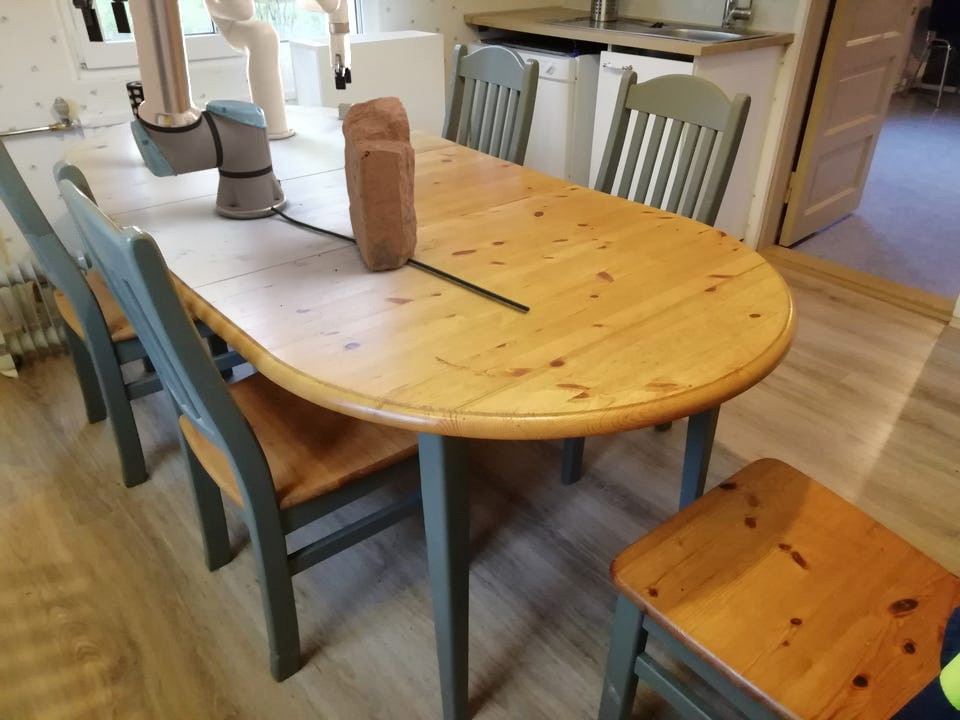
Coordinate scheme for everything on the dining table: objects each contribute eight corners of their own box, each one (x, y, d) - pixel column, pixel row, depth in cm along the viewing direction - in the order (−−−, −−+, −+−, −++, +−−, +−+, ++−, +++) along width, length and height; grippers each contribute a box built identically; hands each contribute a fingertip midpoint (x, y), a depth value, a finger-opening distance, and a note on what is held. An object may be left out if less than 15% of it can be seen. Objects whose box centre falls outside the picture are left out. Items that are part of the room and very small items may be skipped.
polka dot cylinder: (184, 157, 190) (167, 80, 179) (169, 166, 183) (151, 87, 172) (155, 156, 190) (136, 79, 179) (139, 165, 183) (119, 86, 172)
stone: (428, 267, 131) (421, 113, 117) (369, 275, 128) (354, 118, 114) (402, 230, 149) (394, 92, 134) (350, 236, 146) (336, 96, 131)
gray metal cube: (341, 116, 231) (340, 103, 229) (354, 117, 231) (353, 103, 229) (339, 119, 228) (338, 106, 225) (352, 120, 228) (351, 106, 225)
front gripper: (94, -73, 157) (120, 29, 168) (32, -72, 136) (66, 45, 147) (127, -73, 157) (150, 30, 168) (70, -72, 136) (101, 45, 147)
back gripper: (332, 24, 222) (337, 80, 231) (320, 32, 207) (327, 91, 217) (355, 25, 222) (359, 81, 231) (345, 32, 207) (350, 92, 217)
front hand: (111, 37), depth 158 cm, fingers open, 13 cm apart
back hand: (344, 86), depth 224 cm, fingers open, 9 cm apart
